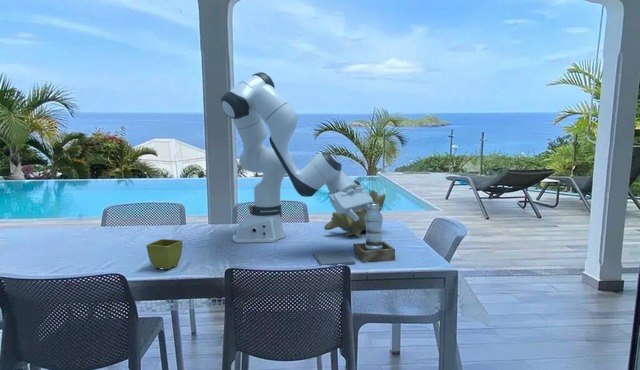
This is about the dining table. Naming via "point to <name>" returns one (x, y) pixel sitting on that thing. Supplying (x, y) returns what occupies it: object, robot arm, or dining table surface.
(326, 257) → the rubber mat
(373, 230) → the plastic bottle
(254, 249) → the dining table surface
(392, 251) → the walnut collar
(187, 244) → the dining table surface
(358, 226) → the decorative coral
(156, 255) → the flower pot
